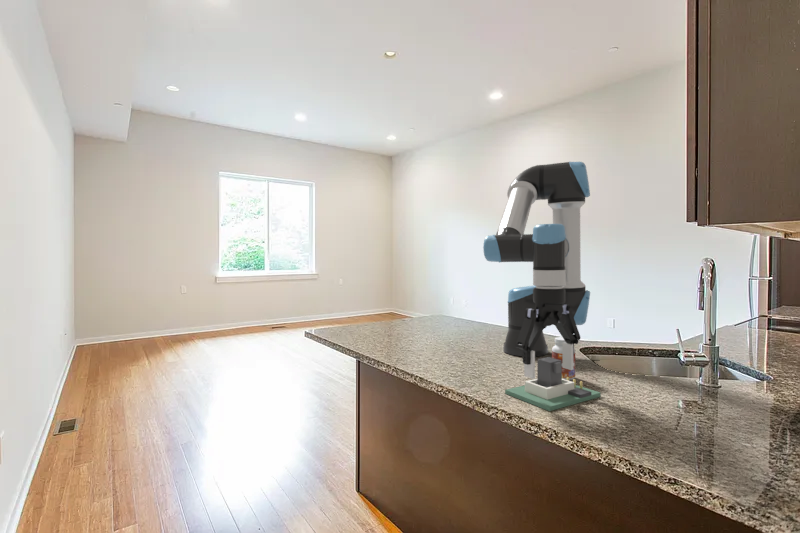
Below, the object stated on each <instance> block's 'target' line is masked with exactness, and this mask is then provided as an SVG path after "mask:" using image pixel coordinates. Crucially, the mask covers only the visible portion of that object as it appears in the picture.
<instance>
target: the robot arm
mask: <svg viewBox="0 0 800 533" xmlns="http://www.w3.org/2000/svg"><path fill="white" fill-rule="evenodd" d="M589 183H590V182H589V176H588V171H587V166H586V164H585V163H584V162H583V161H566V162H565V161H564V162H556V163H555V162H554V163H547V164H537V165H532V166H531V167H528V168H526V169H525V170H523V171H522V172H521V173H519V174H518V175H517V176H516V177H515V178H514V179H513V180H512V181H511V183H510V185H509V186H508V190H507V195H506V196H507V202H506V204H505V208H504V210H503V214H502V216H501V219H500V222H499V225H498V228H497V231H496V234H491V235H487V236H485V238H484V240H483V247H482V248H483V250H482V251H483V255H484V258H485V260H486V261H488V262H491V263H492V262H494V263H495V262H496V263H526V262H527V263H532V273H533V274H532V278H533V280H532V282H533V283H532V284H533V285H527V286H526V285H525V286H519V287H515V288H512V289H510V290H509V292H508V297H507V310H508V311H507V312H508V313H507V320H508V322H507V323H508V326H507V327H508V328H507V333H506V337H505V342H504V343H503V353H505V354H508V355H511V356H516V357H522V364H523V377H526V378H530V379H531V380H533V379H536V357H542V356H546V355H548V354H549V346H548V344H547V342H546V341H547V340H546V339H545V338H546V337H545V335H544V329H546V328H547V327H551V326H553V325H554V326H555V327H556V330H557V331H558V332H559V334H560V337H563V339H564V340H565V342H563V343H562V347H563V368H565V369H569V370H573V355H574V349H575V345H578V344H579V341H580V340H581V335H580V332H579V329H578V326H583V325H585V323H586V322H587V317H588V313H589V312H588V311H589V305H590V296H591V292H590V290H586V284H585V283H584V282H583V281H582V280H581V278H582V277H581V208H582V207H583V206H584V205H585V204H586V198H588V197H590V196H591V192H590V191H591V190H590V184H589ZM541 200H542V201H543V200H544V201H545V200H547V205H548V206H549V208H551V210H552V223H542V224H541V223H540V224H536V225H534V226H533V229H532V233H530V234H529V233H527V234H525V231H526V230H525V229H526V226H527V224H528V220H529V219H528V218H529V216H530V211H531V208H532V205H533V204H534V203H535V202H537V201H541Z"/></svg>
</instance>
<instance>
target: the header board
mask: <svg viewBox="0 0 800 533" xmlns="http://www.w3.org/2000/svg"><path fill="white" fill-rule="evenodd" d="M576 383H577V379H575V378H574V379H572V380H569V377H567V380H565V379H563V376H562V384H559V385H555V386H551V387H547V388H546V387H543V386H541V385H538V382H537V378H534V379H530V380H525V381H524V385H519V386H516V387H512V388H507V389H505V390H504V391H505V392H504V394H505V395H508V396H510V397H513V398H515V399H518V400H520V401H522V402H525V403H527V404H529V405H530V404H531V405H532V406H535V407H538V408H540V409H543V410H545V411H548V412H551V411H555V410H559V409H562V408H565V407H569V406H572V405H577V404H580V403H583V402H586V401H590V400H593V399H598V398H601V397H602V394H601V392H599V391H596V390H593V389H590V388H587V387H584V386H583V381H579V385H577V384H576Z"/></svg>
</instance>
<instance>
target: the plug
mask: <svg viewBox="0 0 800 533" xmlns="http://www.w3.org/2000/svg"><path fill="white" fill-rule="evenodd" d="M536 360H537V363H536V364H537V365H536V366H537V374H536V375H537V376H536V379H537V382H538V385H541V386H543V387H546V388H547V387H551V386H555V385H559V384H562V360H558V359H554V358H552V357H550V356H547V357H542V358H538V359H537V358H536Z"/></svg>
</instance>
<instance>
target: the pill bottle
mask: <svg viewBox="0 0 800 533" xmlns="http://www.w3.org/2000/svg"><path fill="white" fill-rule="evenodd" d="M563 342H565V340H564V339H563V337H562V336H558V337H554V344H555V345H553V346H552V348H551V358H554V359H558V360H562V376H563V379H565V380H567V377H569V381H573V379H575V378H576V348H574V355H573V370H569V369H565V368H563V347H562V343H563Z"/></svg>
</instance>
